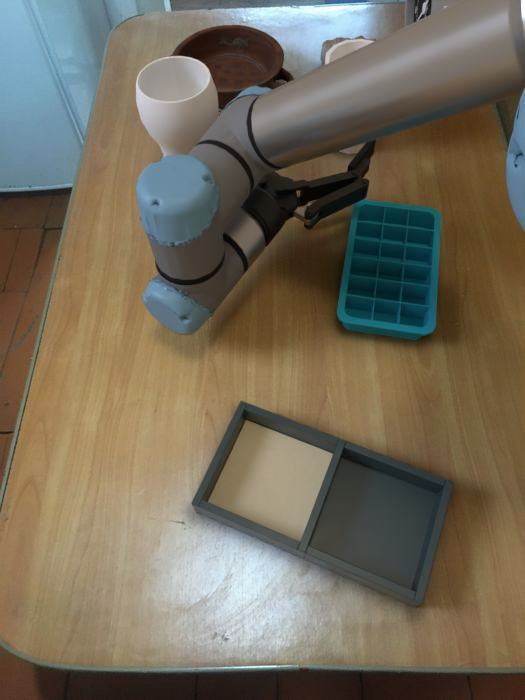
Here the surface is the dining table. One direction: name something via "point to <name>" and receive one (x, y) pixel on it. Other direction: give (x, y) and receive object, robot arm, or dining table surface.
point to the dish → (237, 58)
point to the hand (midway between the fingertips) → (328, 127)
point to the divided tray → (327, 502)
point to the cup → (176, 102)
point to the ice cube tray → (391, 270)
